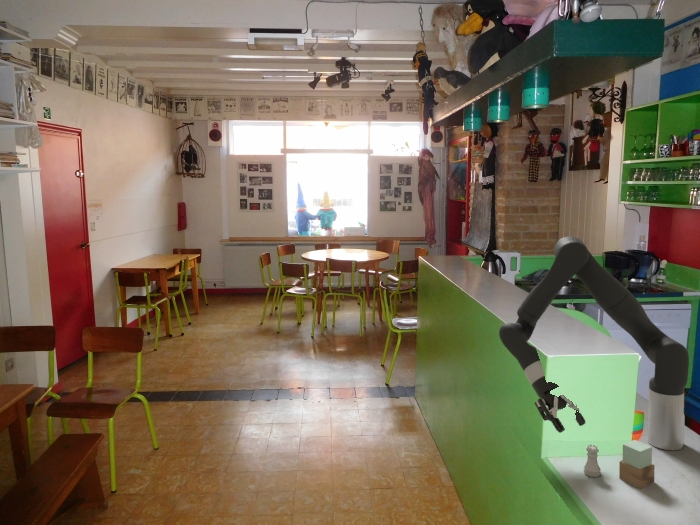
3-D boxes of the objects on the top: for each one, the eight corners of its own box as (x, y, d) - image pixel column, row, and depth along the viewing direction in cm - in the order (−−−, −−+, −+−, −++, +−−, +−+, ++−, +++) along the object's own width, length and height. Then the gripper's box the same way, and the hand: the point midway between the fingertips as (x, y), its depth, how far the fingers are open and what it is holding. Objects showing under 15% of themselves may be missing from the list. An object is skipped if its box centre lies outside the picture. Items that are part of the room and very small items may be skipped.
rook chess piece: (602, 478, 144) (603, 450, 143) (585, 477, 145) (585, 449, 144) (598, 469, 148) (598, 443, 147) (581, 469, 149) (582, 442, 148)
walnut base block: (633, 472, 146) (633, 455, 146) (654, 482, 141) (654, 464, 140) (619, 478, 144) (619, 461, 143) (639, 488, 138) (640, 470, 138)
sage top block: (634, 456, 145) (634, 439, 144) (651, 464, 141) (652, 446, 140) (622, 461, 143) (622, 444, 142) (639, 469, 138) (640, 451, 138)
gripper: (531, 377, 154) (562, 428, 146) (565, 368, 161) (597, 417, 152) (518, 389, 160) (548, 439, 151) (551, 380, 166) (582, 427, 157)
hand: (572, 428), depth 151 cm, fingers open, 8 cm apart
